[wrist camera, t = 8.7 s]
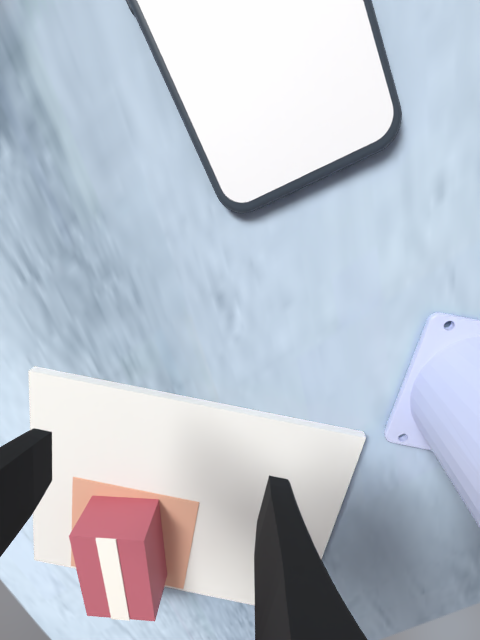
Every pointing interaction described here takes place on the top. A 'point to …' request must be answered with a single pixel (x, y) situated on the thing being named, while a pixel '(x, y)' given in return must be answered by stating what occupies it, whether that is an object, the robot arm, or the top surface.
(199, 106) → the smartphone
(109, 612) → the card box
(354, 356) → the top surface
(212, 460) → the mat
